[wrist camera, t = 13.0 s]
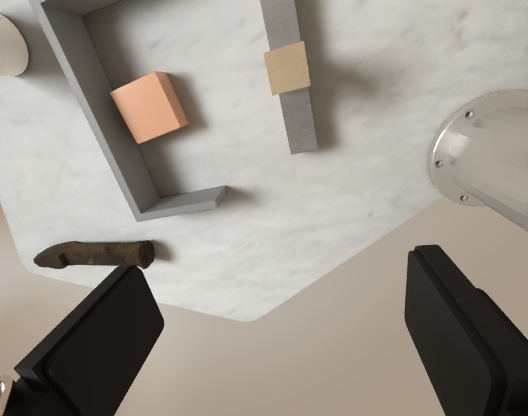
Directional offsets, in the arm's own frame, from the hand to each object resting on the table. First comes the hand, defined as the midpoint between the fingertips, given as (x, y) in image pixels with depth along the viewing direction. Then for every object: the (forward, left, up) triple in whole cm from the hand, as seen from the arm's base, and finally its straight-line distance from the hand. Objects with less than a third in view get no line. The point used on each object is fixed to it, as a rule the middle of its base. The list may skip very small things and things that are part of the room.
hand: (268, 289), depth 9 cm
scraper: (-2, -7, -25) cm, 26 cm away
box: (+15, -8, -25) cm, 30 cm away
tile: (+15, -8, -25) cm, 30 cm away
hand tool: (+33, +10, -25) cm, 43 cm away
